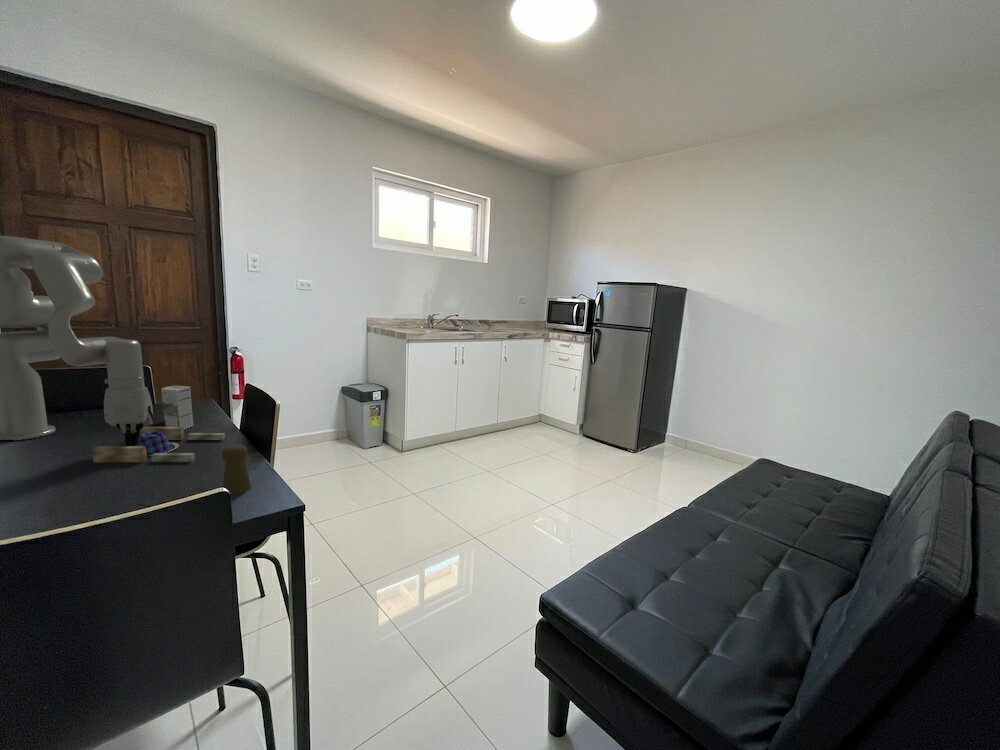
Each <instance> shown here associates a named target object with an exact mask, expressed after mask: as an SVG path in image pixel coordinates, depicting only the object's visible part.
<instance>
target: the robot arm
mask: <svg viewBox="0 0 1000 750" xmlns="http://www.w3.org/2000/svg"><path fill="white" fill-rule="evenodd" d="M21 269H27V270H29V269H30V270H33V272H34V274H35V275H36V277H37V279H38V281H39V282H40V284H41V286H42V288H43V289H44V292H45V293H46V295H33V294H32V283H31V280H30V278H29V277H28V275H26V273H25V272H24V271H23V270H21ZM102 277H103V271H102V267H101V266H100V264H99V262H98V261H97V260H96V259H95V258H94V257H92V256H91V255H89V254H88V253H84V252H83V251H80V250H78V249H76V248H74V247H72V246H69V245H67V244H66V243H61V242H59V241H50V240H43V239H36V238H35V239H34V238H28V237H18V236H9V235H0V328H5V329H6V328H7V329H9V328H10V329H22V328H36V330H28V331H24V330H22V331H19V330H18V331H5V332H0V440H14V441H22V440H23V439H24V440H29V439H30V438H31V439H35V437H36V438H40V436H41V437H43V436H47V435H50V434H53V433H54V432H56V426H54V425H51V424H48V418H47V411H46V403H45V398H44V397H45V396H44V392H43V391H44V390H43V384H42V378H41V375H40V374H39V373H38V372H37V371H36V370H35V369H34V368H33V367H32V366H30V364H31V363H38V362H46V361H53V360H59V359H62V361H64V362H65V363H66V364H67V365H70V366H73V367H85V366H86V367H88V366H94V365H101V364H102V365H104V364H106V371H107V378H105V379H104V383H105V384H108V387H107V388H106V389H105V393H104V396H103V398H104V399H103V415H104V416H103V417H104V421H105V422H106V423H108V425H109V426H112V427H116V428H118V429H119V430H120V431H121V433H122V434H124V441H125V445H126V446H137V442H138V438H139V436H140V430H141V429H142V428H143V427H150V426H151V425H153V424H154V421H153V418H154V410H153V409H154V408H153V402H152V398H151V394H150V392H149V389H148V386H145V376H144V375H145V374H144V366H143V357H142V355H143V354H142V345H141V343H140V342H139V341H138V340H136V339H128V338H127V339H126V338H125V339H123V338H120V337H116V336H102V337H101V336H99V337H86V338H85V337H82V338H81V337H79V338H77V336H76V334H75V333H74V331H73V329H72V326H71V318H72V317H74V316H77V315H79V314H82V313H84V312H86V311H89V310H90V309H91V308H93V307H94V306H95V305H96V300H95V297H94V296H93V294H92V293H91V291H90V289H89V287H88V284H91V285H92V284H96V283H99V282H100V281H101V280H102ZM31 439H30V440H31Z"/></svg>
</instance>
